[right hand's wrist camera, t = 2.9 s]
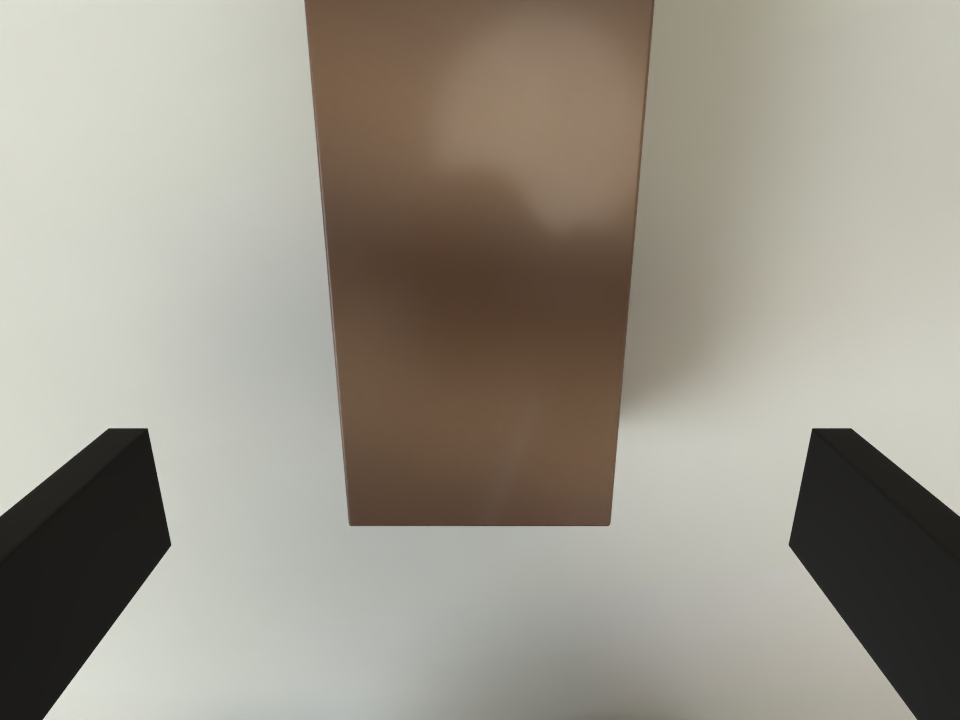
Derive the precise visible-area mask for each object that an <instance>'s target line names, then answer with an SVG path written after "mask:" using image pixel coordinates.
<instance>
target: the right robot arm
mask: <svg viewBox="0 0 960 720" xmlns="http://www.w3.org/2000/svg"><path fill="white" fill-rule="evenodd" d="M170 546H171V541H170V536H169V531H168V526H167V522H166V517H165V512H164V507H163V502H162V497H161V492H160V487H159V482H158V477H157V472H156V467H155V462H154V457H153V452H152V448H151V443H150V438H149V433H148V428H109V429H108V430H106V431H105V432H104V433H103V434H101V435H100V436H99V437H98V438H96V439H95V440H94V441H93V442H92V443H90V444H89V445H88V446H87V447H85V448H84V449H83V450H82V451H80V452H79V453H78V454H77V455H76V456H74V457H73V458H72V459H71V460H69V461H68V462H67V463H66V464H64V465H63V466H62V467H61V468H60V469H58V470H57V471H56V472H55V473H53V474H52V475H51V476H50V477H48V478H47V479H46V480H45V481H44V482H42V483H41V484H40V485H39V486H37V487H36V488H35V489H34V490H32V491H31V492H30V493H29V494H28V495H26V496H25V497H24V498H23V499H21V500H20V501H19V502H18V503H16V504H15V505H14V506H13V507H12V508H10V509H9V510H8V511H7V512H5V513H4V514H3V515H2V516H0V720H43V718H44V717H45V716H46V714H47V713H48V712H49V710H50V709H51V708H52V706H53V705H54V704H55V702H56V701H57V699H58V698H59V697H60V695H61V694H62V693H63V691H64V690H65V689H66V687H67V686H68V685H69V683H70V682H71V680H72V679H73V678H74V676H75V675H76V674H77V672H78V671H79V670H80V668H81V667H82V666H83V664H84V663H85V662H86V660H87V659H88V657H89V656H90V655H91V653H92V652H93V651H94V649H95V648H96V647H97V645H98V644H99V643H100V641H101V640H102V638H103V637H104V636H105V634H106V633H107V632H108V630H109V629H110V628H111V626H112V625H113V624H114V622H115V621H116V620H117V618H118V617H119V615H120V614H121V613H122V611H123V610H124V609H125V607H126V606H127V605H128V603H129V602H130V601H131V599H132V598H133V596H134V595H135V594H136V592H137V591H138V590H139V588H140V587H141V586H142V584H143V583H144V582H145V580H146V579H147V577H148V576H149V575H150V573H151V572H152V571H153V569H154V568H155V567H156V565H157V564H158V563H159V561H160V560H161V559H162V557H163V556H164V554H165V553H166V552H167V550H168V549H169V548H170ZM789 546H790V548H791V549H792V550H793V552H794V553H795V554H796V556H797V557H798V559H799V560H800V561H801V563H802V564H803V565H804V567H805V568H806V569H807V571H808V572H809V573H810V575H811V576H812V577H813V579H814V580H815V582H816V583H817V584H818V586H819V587H820V588H821V590H822V591H823V592H824V594H825V595H826V596H827V598H828V599H829V601H830V602H831V603H832V605H833V606H834V607H835V609H836V610H837V611H838V613H839V614H840V615H841V617H842V618H843V620H844V621H845V622H846V624H847V625H848V626H849V628H850V629H851V630H852V632H853V633H854V634H855V636H856V637H857V638H858V640H859V641H860V643H861V644H862V645H863V647H864V648H865V649H866V651H867V652H868V653H869V655H870V656H871V657H872V659H873V660H874V662H875V663H876V664H877V666H878V667H879V668H880V670H881V671H882V672H883V674H884V675H885V676H886V678H887V679H888V680H889V682H890V683H891V685H892V686H893V687H894V689H895V690H896V691H897V693H898V694H899V695H900V697H901V698H902V699H903V701H904V702H905V704H906V705H907V706H908V708H909V709H910V710H911V712H912V713H913V714H914V716H915V717H916V718H917V720H960V516H958V515H957V514H956V513H955V512H953V511H952V510H951V509H950V508H948V507H947V506H946V505H945V504H944V503H942V502H941V501H940V500H939V499H937V498H936V497H935V496H934V495H932V494H931V493H930V492H929V491H928V490H926V489H925V488H924V487H923V486H921V485H920V484H919V483H918V482H916V481H915V480H914V479H913V478H912V477H910V476H909V475H908V474H907V473H905V472H904V471H903V470H902V469H900V468H899V467H898V466H897V465H896V464H894V463H893V462H892V461H891V460H889V459H888V458H887V457H886V456H884V455H883V454H882V453H881V452H880V451H878V450H877V449H876V448H875V447H873V446H872V445H871V444H870V443H868V442H867V441H866V440H865V439H864V438H862V437H861V436H860V435H859V434H857V433H856V432H855V431H854V430H852V429H851V428H812V433H811V438H810V443H809V448H808V452H807V457H806V462H805V467H804V472H803V477H802V482H801V487H800V492H799V497H798V502H797V507H796V512H795V517H794V522H793V526H792V531H791V536H790V541H789Z"/></svg>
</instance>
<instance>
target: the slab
mask: <svg viewBox="0 0 960 720" xmlns="http://www.w3.org/2000/svg"><path fill="white" fill-rule="evenodd" d="M304 1H305V13H306V25H307V36H308V48H309V60H310V72H311V84H312V95H313V107H314V119H315V131H316V142H317V154H318V166H319V178H320V190H321V201H322V213H323V225H324V237H325V248H326V260H327V272H328V284H329V296H330V307H331V319H332V331H333V343H334V354H335V366H336V378H337V390H338V402H339V413H340V425H341V437H342V449H343V460H344V472H345V484H346V496H347V508H348V519H349V525H350V526H609V525H610V522H611V510H612V498H613V486H614V474H615V463H616V451H617V439H618V427H619V415H620V403H621V392H622V380H623V368H624V356H625V344H626V332H627V320H628V309H629V297H630V285H631V273H632V261H633V249H634V238H635V226H636V214H637V202H638V190H639V178H640V166H641V155H642V143H643V131H644V119H645V107H646V95H647V84H648V72H649V60H650V48H651V36H652V24H653V12H654V1H655V0H304Z"/></svg>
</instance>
